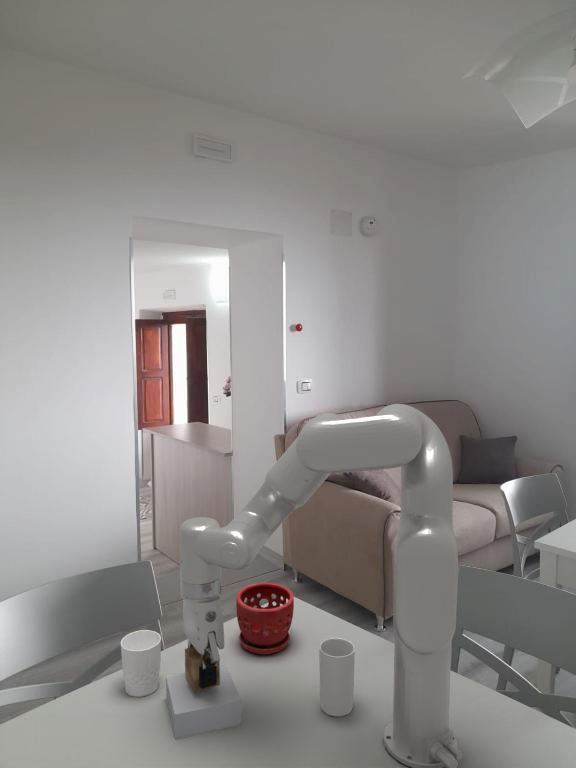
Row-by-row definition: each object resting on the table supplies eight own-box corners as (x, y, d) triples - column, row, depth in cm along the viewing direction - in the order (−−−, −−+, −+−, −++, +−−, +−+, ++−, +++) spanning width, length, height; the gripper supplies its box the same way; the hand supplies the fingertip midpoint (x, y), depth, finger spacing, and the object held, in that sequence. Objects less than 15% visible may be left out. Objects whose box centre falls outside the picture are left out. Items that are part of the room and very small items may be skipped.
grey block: (241, 725, 108) (240, 700, 107) (175, 741, 104) (174, 714, 103) (226, 687, 119) (226, 664, 119) (166, 700, 115) (165, 676, 115)
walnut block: (219, 684, 110) (219, 654, 109) (194, 693, 108) (193, 662, 107) (209, 671, 114) (209, 642, 114) (185, 678, 112) (184, 649, 111)
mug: (353, 719, 109) (354, 658, 108) (317, 716, 110) (317, 655, 109) (355, 686, 119) (355, 630, 118) (322, 683, 120) (322, 627, 119)
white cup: (114, 694, 116) (112, 647, 115) (135, 672, 124) (134, 627, 123) (149, 702, 114) (148, 653, 113) (169, 679, 122) (168, 633, 121)
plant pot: (224, 647, 134) (224, 597, 132) (261, 624, 144) (261, 577, 143) (269, 667, 126) (269, 614, 124) (305, 641, 136) (305, 592, 135)
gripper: (238, 599, 103) (239, 696, 105) (203, 565, 118) (204, 650, 120) (198, 609, 100) (199, 709, 102) (167, 572, 115) (169, 661, 116)
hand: (202, 676), depth 111 cm, fingers closed on walnut block, 5 cm apart
